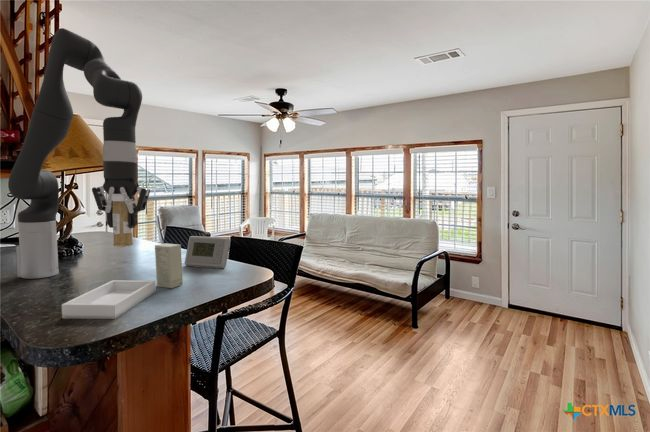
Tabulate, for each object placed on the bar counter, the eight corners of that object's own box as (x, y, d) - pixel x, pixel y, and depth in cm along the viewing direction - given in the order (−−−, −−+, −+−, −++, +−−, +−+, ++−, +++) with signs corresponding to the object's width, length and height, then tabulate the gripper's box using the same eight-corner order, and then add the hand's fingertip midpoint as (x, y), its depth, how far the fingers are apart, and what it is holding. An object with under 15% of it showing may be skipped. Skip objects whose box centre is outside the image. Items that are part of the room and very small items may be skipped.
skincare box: (183, 285, 105) (182, 244, 104) (170, 289, 101) (169, 246, 100) (167, 282, 108) (166, 242, 107) (155, 286, 104) (154, 244, 103)
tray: (62, 318, 79) (61, 304, 78) (112, 291, 98) (112, 280, 98) (115, 318, 79) (114, 305, 79) (155, 291, 98) (155, 280, 98)
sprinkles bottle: (134, 246, 92) (132, 193, 90) (113, 247, 89) (111, 193, 88) (132, 243, 96) (130, 193, 94) (112, 244, 93) (110, 193, 92)
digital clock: (181, 266, 129) (181, 237, 128) (199, 261, 137) (199, 234, 136) (217, 271, 122) (217, 240, 121) (234, 266, 131) (234, 237, 130)
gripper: (82, 158, 86) (85, 228, 88) (141, 160, 87) (143, 230, 88) (100, 160, 94) (103, 225, 95) (155, 162, 94) (157, 226, 96)
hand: (122, 227), depth 92 cm, fingers closed on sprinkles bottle, 4 cm apart
